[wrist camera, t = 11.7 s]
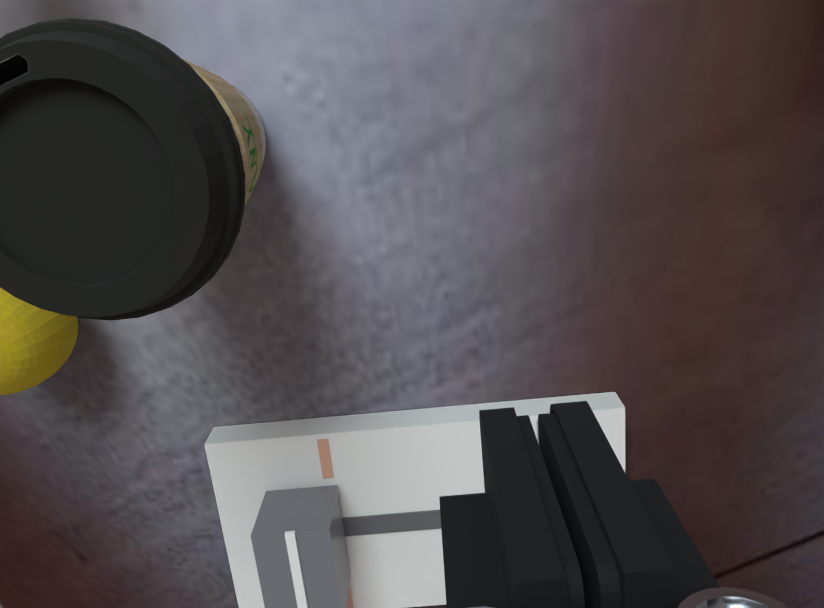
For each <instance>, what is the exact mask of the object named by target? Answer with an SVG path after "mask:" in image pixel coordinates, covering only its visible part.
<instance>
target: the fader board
mask: <svg viewBox="0 0 824 608" xmlns="http://www.w3.org/2000/svg"><path fill="white" fill-rule="evenodd" d="M579 401H587V402H588V404H589V405H590V407H591V409H592V411H593V413H594V415H595V417H596V419H597V421H598V422H599V424H600V426H601V428H602V430H603V432H604V434H605V436H606V438H607V439H608V441H609V443H610V445H611V447H612V449H613V451H614V453H615V455H616V456H617V458H618V460H619V462H620V464H621V466H622V468H623V470H624V472H625V407H624V405H623V404H622V402H621V400H620V399H619V397H618V396H617V394H616V392H607V393H595V394H584V395H573V396H561V397H550V398H538V399H527V400H516V401H504V402H493V403H482V404H470V405H459V406H447V407H436V408H425V409H413V410H402V411H390V412H379V413H368V414H356V415H345V416H333V417H322V418H311V419H299V420H288V421H277V422H265V423H254V424H242V425H231V426H220V427H214V428H213V430H212V431H211V433H210V435H209V437H208V439H207V441H206V442H205V444H204V445H205V450H206V454H207V459H208V464H209V469H210V473H211V478H212V483H213V487H214V492H215V497H216V502H217V506H218V511H219V516H220V521H221V525H222V530H223V535H224V539H225V544H226V549H227V554H228V558H229V563H230V568H231V573H232V577H233V582H234V587H235V592H236V596H237V601H238V606H239V608H265V606H264V601H263V596H262V591H261V586H260V581H259V576H258V571H257V566H256V561H255V556H254V551H253V546H252V540H251V533H252V530H253V527H254V524H255V522H256V519H257V516H258V513H259V510H260V507H261V504H262V501H263V498H264V495H265V492H266V491H273V490H284V489H296V488H308V487H320V486H331V485H337V486H338V492H339V499H340V506H341V512H342V519H343V526H344V533H345V539H346V546H347V553H348V560H349V566H350V573H351V576H350V585H349V593H348V602H347V608H407V607H420V606H432V605H445V604H446V591H445V576H444V561H443V546H442V531H441V516H440V500H439V496H451V495H463V494H475V493H485V488H484V474H483V461H482V447H481V434H480V420H479V410H487V409H499V408H510V407H514V409H515V412H516V415H517V416H523V415H529V418H530V421H531V424H532V427H533V429H534V432H535V435H536V438H537V441H538V444H539V436H538V415H539V414H546V413H550V405H551V404H556V403H567V402H579Z"/></svg>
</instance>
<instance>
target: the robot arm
mask: <svg viewBox="0 0 824 608" xmlns="http://www.w3.org/2000/svg"><path fill="white" fill-rule="evenodd" d="M479 420H480V434H481V447H482V461H483V474H484V488H485V493H475V494H463V495H451V496H439V500H440V516H441V531H442V546H443V561H444V576H445V591H446V606H447V608H790V607H788V606H786V605H785V604H783V603H781V602H779V601H777V600H775V599H773V598H772V597H769V596H766V595H763V594H760V593H757V592H754V591H751V590H746V589H739V588H731V587H721V588H720V587H719V585H718V584H717V582H716V580H715V578H714V577H713V575H712V573H711V572H710V570H709V568H708V567H707V565H706V563H705V562H704V560H703V558H702V557H701V555H700V553H699V552H698V550H697V548H696V547H695V545H694V543H693V542H692V540H691V538H690V536H689V535H688V533H687V531H686V530H685V528H684V526H683V525H682V523H681V521H680V520H679V518H678V516H677V515H676V513H675V511H674V510H673V508H672V506H671V505H670V503H669V501H668V499H667V498H666V496H665V494H664V493H663V491H662V489H661V488H660V486H659V485H658V483H657V482H656V481H655V480H653V479H641V480H629V479H628V477H627V475H626V473H625V472H624V470H623V468H622V466H621V464H620V462H619V460H618V458H617V456H616V455H615V453H614V451H613V449H612V447H611V445H610V443H609V441H608V439H607V438H606V436H605V434H604V432H603V430H602V428H601V426H600V424H599V422H598V421H597V419H596V417H595V415H594V413H593V411H592V409H591V407H590V405H589V404H588V402H587V401H579V402H567V403H556V404H551V405H550V413H546V414H539V415H538V436H539V444H538V441H537V438H536V435H535V432H534V429H533V427H532V424H531V421H530V418H529V415H523V416H517V415H516V412H515V409H514V407H510V408H499V409H487V410H479Z"/></svg>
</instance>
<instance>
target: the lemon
mask: <svg viewBox="0 0 824 608" xmlns="http://www.w3.org/2000/svg"><path fill="white" fill-rule="evenodd" d="M77 335H78V320H77V317H76V316H67V315H63V314H59V313H55V312H51V311H47V310H43V309H40V308H38V307H35V306H33V305H31V304H29V303H27V302H24V301H22V300H20V299H18V298H16V297H14V296H12V295H11V294H9V293H8V292H6V291H5V290H3V289H2V288H0V395H6V394H13V393H17V392H20V391H23V390H26V389H29V388H32V387H34V386H36V385H38V384H40V383H42V382H43V381H45V380H46V379H47V378H49V377H50V376H52V375H53V374H55V373H56V372H57V371H58V370H59V369H60V368H61V367H62V365H63V364H64V363H65V362H66V360H67V359H68V358H69V357H70V355H71V353H72V351H73V348H74V346H75V343H76V341H77Z"/></svg>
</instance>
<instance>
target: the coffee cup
mask: <svg viewBox="0 0 824 608" xmlns="http://www.w3.org/2000/svg"><path fill="white" fill-rule="evenodd" d="M265 153H266V136H265V130H264V125H263V123H262V120H261V117H260V115H259V113H258V111H257V110H256V108H255V107H254V105H253V103H252V102H251V101H250V100H249V99H248V98H247V97H246V95H245V94H244V93H242V92H241V91H240V90H238V89H237V88H236V87H235V86H233V85H231V84H229V83H228V82H226V81H225V80H224V79H222V78H221V77H219V76H217V75H215V74H214V73H212V72H210V71H208V70H206V69H204V68H201V67H199V66H197V65H195V64H192V63H190V62H188V61H186V60H184V59H182V58H180V57H179V56H178V55H176V54H175V53H174V52H172V51H171V50H170V49H169V48H167V47H166V46H165V45H163V44H161V43H159V42H157V41H156V40H154V39H152V38H150V37H148V36H146V35H144V34H142V33H140V32H138V31H136V30H134V29H131V28H127V27H124V26H120V25H117V24H114V23H110V22H107V21H103V20H92V19H80V18H66V19H58V20H50V21H43V22H39V23H36V24H33V25H30V26H27V27H25V28H22V29H19V30H16V31H14V32H11V33H8V34H6V35H5V36H3V37H1V38H0V288H2V289H3V290H5V291H6V292H8V293H9V294H11V295H12V296H14V297H16V298H18V299H20V300H22V301H24V302H27V303H29V304H31V305H33V306H35V307H38V308H40V309H43V310H47V311H51V312H55V313H59V314H63V315H67V316H76V317H80V318H87V319H100V320H120V319H129V318H138V317H142V316H145V315H148V314H152V313H155V312H158V311H161V310H164V309H167V308H170V307H172V306H173V305H175V304H177V303H179V302H181V301H182V300H184V299H186V298H188V297H190V296H191V295H193V294H194V293H195V292H197V291H198V290H199V289H200V288H201V287H202V286H203V285H205V284H206V283H207V282H208V281H209V280H210V279H211V278H212V277H213V276H214V275H215V274H216V272H217V271H218V269H219V268H220V267H221V265H222V264H223V263H224V261H225V260H226V259H227V257H228V256H229V253H230V251H231V249H232V247H233V245H234V242H235V240H236V238H237V236H238V233H239V231H240V226H241V221H242V217H243V212H244V208H245V206H246V204H247V202H248V200H249V198H250V196H251V194H252V192H253V190H254V187H255V185H256V183H257V181H258V178H259V176H260V171H261V167H262V164H263V162H264V157H265Z"/></svg>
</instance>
